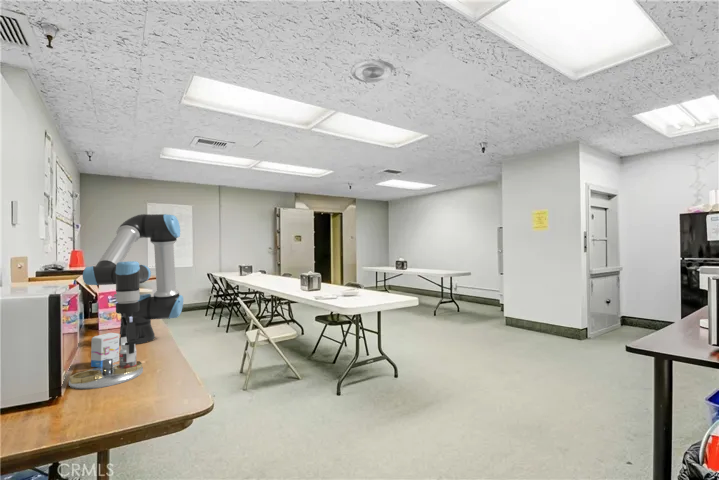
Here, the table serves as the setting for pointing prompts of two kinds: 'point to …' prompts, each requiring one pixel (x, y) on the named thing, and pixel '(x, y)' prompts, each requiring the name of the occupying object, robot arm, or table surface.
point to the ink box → (104, 349)
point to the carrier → (104, 375)
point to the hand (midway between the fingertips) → (127, 357)
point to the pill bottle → (124, 358)
